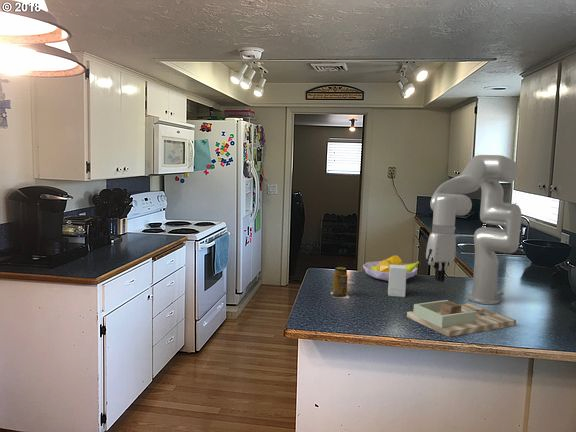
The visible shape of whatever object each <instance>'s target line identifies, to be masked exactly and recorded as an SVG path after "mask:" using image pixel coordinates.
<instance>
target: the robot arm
mask: <svg viewBox="0 0 576 432" xmlns="http://www.w3.org/2000/svg"><path fill="white" fill-rule="evenodd" d="M519 171H520V169H519V166H518V163H517V162H516V161H514V159H512V158H509V157H507V156H504V155H501V154H498V155H497V154H477V155H475V156H473V157H472V158H470V160H469V162H468V163H467V164H466V166H465V167H464V169H463V170H462V172H461V173H460V174H459V175H458V176H457V175H456V176H455V177H452V178H450V179H448V180H446V181H444V182H443V183H441V184H440V185H439V186H438V187H437V188H436V189H435V191H434V193H433V194H432V196H431V199H430V203H429V204H430V208H431V210H432V211H433V214H432V215H433V216H432V227H431V228H432V229H431V232H430V234H429V236H428V240H427V244H426V252H425V260H426V261H428V262H427V265H429V266H432V267H433V269H434V273H435V274H434V281H437V282H440V283H441V282H442V283H443V282H445V279H446V278H445V277H446V271H447V269H448V267H449V266H450V265H453V264H454V261H455V259H456V254H457V252H456V251H457V243H456V241H457V238H456V234H455V231H456V229H457V228H456V226H455V225H456V216H466V215H468V214H469V213H470V211H471V210H472V206H473V205H472V199H471V198H470V197H469V196H467V195H466V194H469V193H470V194H471V193H473V192H476V191H478V190H479V189H481V198H480V199H481V200H480V207H479V208H480V210H479V219H480V221H481V223H483V224H487V225H495V226H500V227H501V226H502V227H505V228H503V229H502V228H498V227H488V226H484V227H479V228H477V229H476V230H475V231H474V234H473V243H474V265H473V279H472V290H471V291H472V292H471V294H469V295H467V299H468V300H469V301H471V302H473V303H477V304H481V305H497V304H499V303H500V298H498V297H499V296H503V295H504V294H505V293H504V291H503V290H502V289H501V290H497V288H498V287H497V286H498V274H499V262H500V261H499V258H498V256H497V254H496V253H495V252H497V253H498V252H499V253H508V254H513V253H516V251H518V248H519V244H520V236H521V235H520V234H521V223H522V210H521V208H520V205H517V204H515V203H511V202H504V193H505V192H504V187H503V186H502V184H501V183H500V182H503V183H513V182H514V181H516V180H517V178H518V176H519Z"/></svg>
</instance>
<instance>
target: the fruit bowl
mask: <svg viewBox="0 0 576 432" xmlns="http://www.w3.org/2000/svg"><path fill="white" fill-rule="evenodd" d="M390 265H406V268H407V273H406V280H408V279H410V278H412V277H415V275H416V272H417V270H418V267H417V266H418V265H420V261H419V260H417V261H416V262H413V263H404V262H403V260H402V259H401V257H400V256H399V255H395V254H393V255H392V256H390V257H388V258H386V259H383V260H378V261H368V262H366V263H364V264H363V265H362V267H363V270H364V271H365V273H366V274H367V275H369V276H370V277H372V278H374V279H375V280H376V279H377V280H380V281H384V282H385V281H386V282H389V267H390Z"/></svg>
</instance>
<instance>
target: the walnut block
mask: <svg viewBox="0 0 576 432" xmlns="http://www.w3.org/2000/svg"><path fill="white" fill-rule="evenodd" d="M461 307H462V306H461V304H459V303H457V302H453V301H449V302H446V303H441V315H449V314H456V313H461Z"/></svg>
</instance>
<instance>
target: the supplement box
mask: <svg viewBox="0 0 576 432" xmlns="http://www.w3.org/2000/svg"><path fill="white" fill-rule="evenodd" d="M406 273H407V268H406V265H390V267H389V281H388V286H387V287H388V288H387V295H388V297H389V296H390V297H402V298H404V297H406V286H407V279H406Z"/></svg>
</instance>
